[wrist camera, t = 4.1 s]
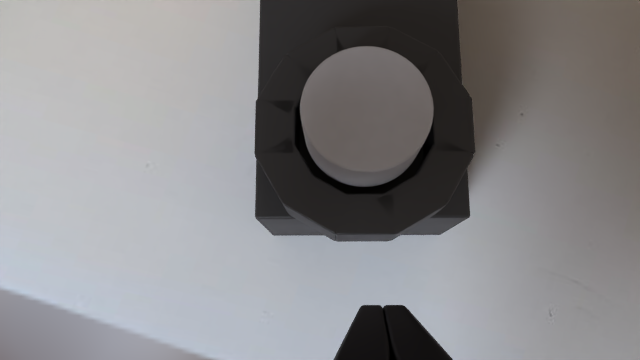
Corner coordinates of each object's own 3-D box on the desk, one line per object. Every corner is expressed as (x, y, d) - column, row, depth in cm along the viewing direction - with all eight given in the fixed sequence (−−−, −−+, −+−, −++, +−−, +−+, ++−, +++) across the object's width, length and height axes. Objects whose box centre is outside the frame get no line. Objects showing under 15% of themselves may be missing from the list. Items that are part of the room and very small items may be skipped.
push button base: (442, 252, 22) (489, 233, 15) (272, 253, 22) (244, 235, 15) (427, -46, 25) (461, -174, 18) (277, -43, 25) (255, -169, 18)
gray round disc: (424, 187, 16) (437, 171, 14) (303, 188, 16) (299, 172, 14) (419, 73, 17) (431, 44, 15) (304, 75, 17) (300, 45, 15)
